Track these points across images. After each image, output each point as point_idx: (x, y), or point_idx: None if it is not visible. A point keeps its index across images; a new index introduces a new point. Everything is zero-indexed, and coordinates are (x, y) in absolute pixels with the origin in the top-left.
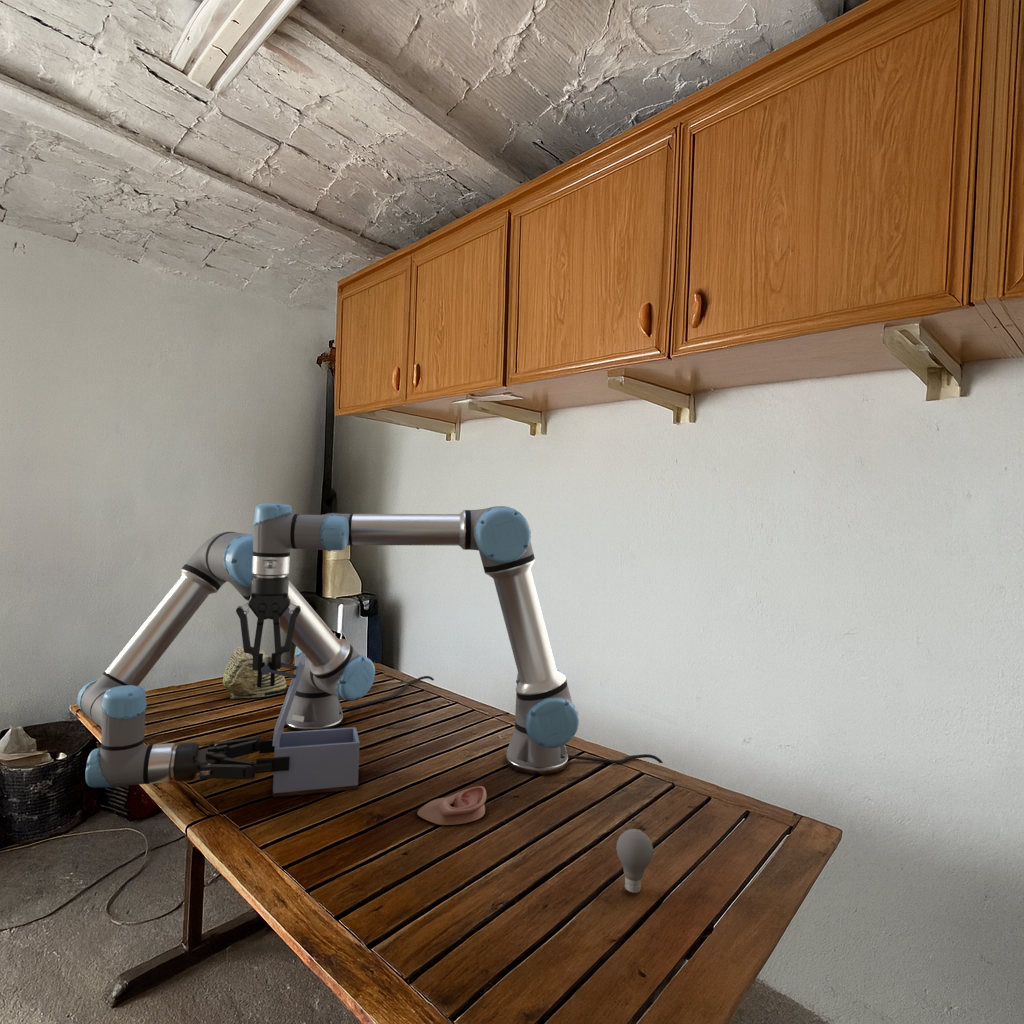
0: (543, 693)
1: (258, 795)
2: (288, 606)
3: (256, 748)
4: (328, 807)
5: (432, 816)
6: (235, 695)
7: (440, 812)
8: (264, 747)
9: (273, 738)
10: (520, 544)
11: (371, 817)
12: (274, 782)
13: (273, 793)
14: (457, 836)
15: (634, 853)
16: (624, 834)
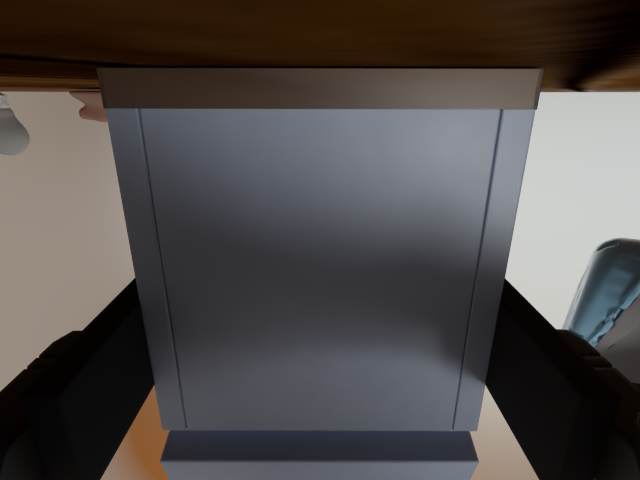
0: None
1: (99, 51)
2: None
3: (633, 463)
4: (74, 81)
5: (85, 100)
6: None
7: (90, 110)
8: (536, 408)
9: (267, 468)
10: None
11: (54, 85)
12: (127, 204)
13: (107, 106)
14: (41, 88)
15: None
16: (7, 152)
